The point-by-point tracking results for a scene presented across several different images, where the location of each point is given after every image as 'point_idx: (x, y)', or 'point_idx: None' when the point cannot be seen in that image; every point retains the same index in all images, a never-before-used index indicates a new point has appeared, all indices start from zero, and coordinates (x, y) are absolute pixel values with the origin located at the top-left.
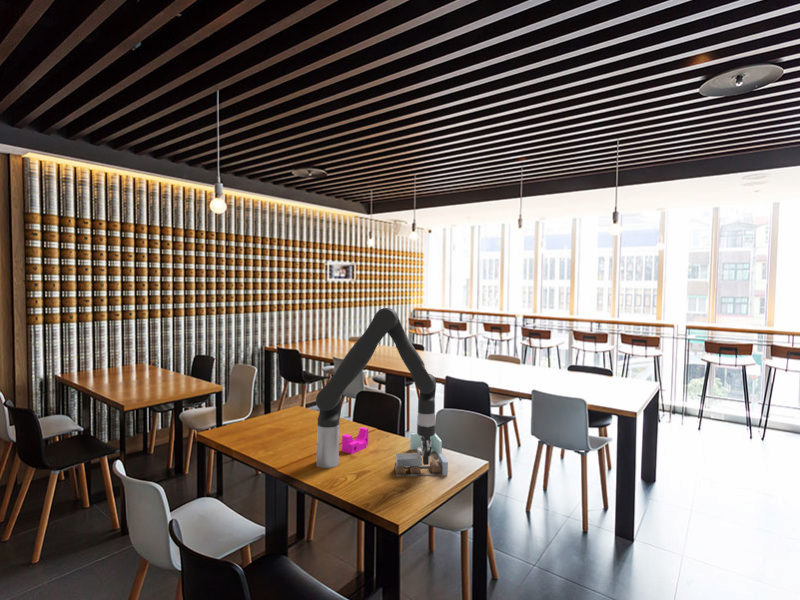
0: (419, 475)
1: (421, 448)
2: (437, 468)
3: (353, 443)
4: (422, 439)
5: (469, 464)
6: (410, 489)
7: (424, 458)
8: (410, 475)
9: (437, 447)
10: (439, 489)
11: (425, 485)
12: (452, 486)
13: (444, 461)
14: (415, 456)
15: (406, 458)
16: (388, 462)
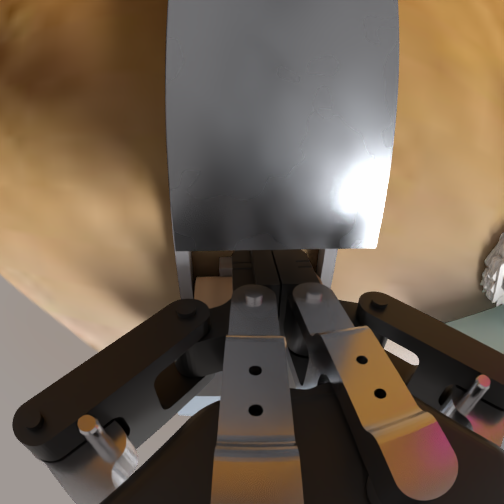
0: (168, 168)
1: None
2: None
3: None
4: (380, 492)
5: None
6: (6, 102)
7: (243, 280)
8: (165, 90)
9: (483, 339)
10: (29, 271)
11: (53, 198)
12: (76, 335)
13: (187, 404)
14: (270, 172)
15: (199, 21)
16: (450, 6)
